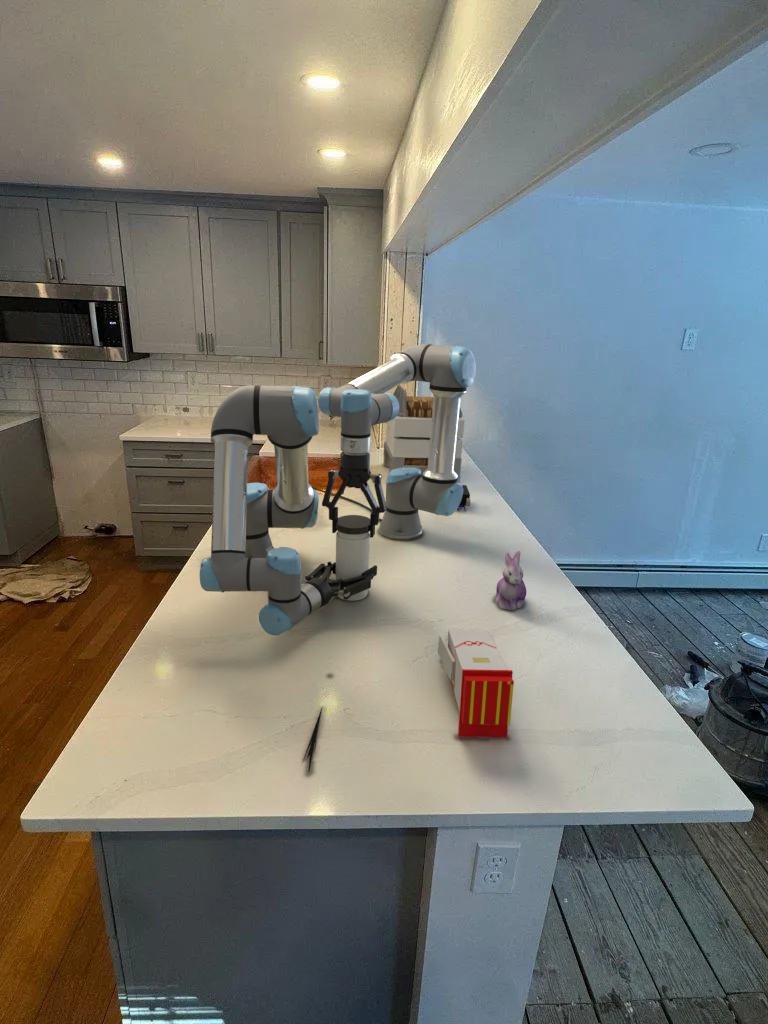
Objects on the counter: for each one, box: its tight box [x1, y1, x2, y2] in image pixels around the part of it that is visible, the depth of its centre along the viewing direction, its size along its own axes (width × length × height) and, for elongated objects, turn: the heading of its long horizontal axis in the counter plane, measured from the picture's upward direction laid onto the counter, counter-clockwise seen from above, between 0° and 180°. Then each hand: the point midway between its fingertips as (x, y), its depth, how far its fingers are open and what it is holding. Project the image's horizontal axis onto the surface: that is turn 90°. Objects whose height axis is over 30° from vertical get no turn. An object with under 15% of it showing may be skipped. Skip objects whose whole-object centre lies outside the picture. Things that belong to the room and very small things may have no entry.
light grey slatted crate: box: [383, 384, 465, 483], centre depth 268 cm, size 34×33×41 cm
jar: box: [335, 531, 371, 601], centre depth 154 cm, size 9×9×19 cm
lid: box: [336, 514, 370, 535], centre depth 151 cm, size 10×10×2 cm
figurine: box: [495, 550, 527, 611], centre depth 153 cm, size 9×10×15 cm
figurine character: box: [456, 484, 471, 512], centre depth 229 cm, size 7×8×15 cm
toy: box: [437, 628, 515, 738], centre depth 117 cm, size 12×13×30 cm
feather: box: [301, 673, 332, 771], centre depth 108 cm, size 2×28×2 cm
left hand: (361, 565), depth 159 cm, fingers closed on jar, 9 cm apart
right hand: (353, 533), depth 152 cm, fingers closed on lid, 10 cm apart
